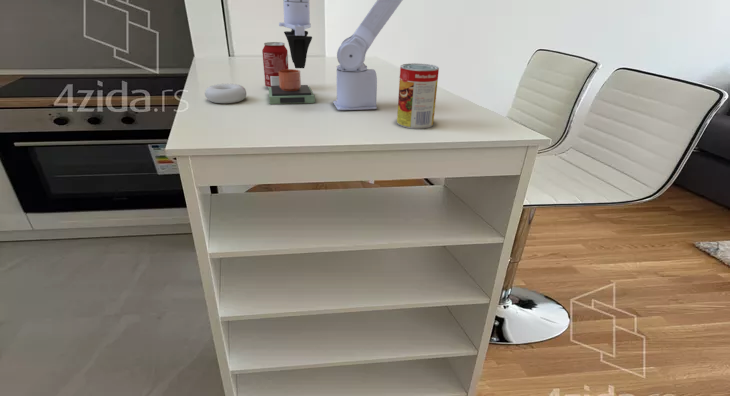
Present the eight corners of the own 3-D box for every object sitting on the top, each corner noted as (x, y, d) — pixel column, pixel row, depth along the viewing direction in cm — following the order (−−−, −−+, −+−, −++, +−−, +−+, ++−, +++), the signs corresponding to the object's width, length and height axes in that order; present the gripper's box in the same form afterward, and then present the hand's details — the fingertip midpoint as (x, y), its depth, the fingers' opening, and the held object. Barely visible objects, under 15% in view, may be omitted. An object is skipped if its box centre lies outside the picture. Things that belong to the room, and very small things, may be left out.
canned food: (419, 116, 97) (424, 62, 92) (440, 126, 91) (446, 68, 85) (390, 120, 94) (393, 64, 88) (409, 130, 87) (414, 70, 82)
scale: (310, 93, 116) (309, 84, 114) (314, 103, 106) (314, 93, 105) (269, 94, 113) (268, 85, 112) (269, 104, 103) (269, 94, 102)
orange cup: (299, 86, 111) (299, 69, 109) (301, 91, 107) (301, 72, 105) (279, 87, 110) (277, 69, 108) (280, 91, 106) (278, 73, 104)
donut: (197, 103, 103) (236, 106, 101) (195, 89, 101) (234, 91, 100) (218, 94, 112) (254, 96, 110) (216, 81, 110) (252, 83, 108)
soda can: (287, 90, 117) (284, 45, 112) (262, 90, 117) (259, 44, 112) (291, 85, 123) (289, 42, 118) (268, 85, 123) (264, 41, 118)
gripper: (276, 0, 99) (279, 60, 105) (279, 2, 87) (282, 70, 93) (307, 1, 101) (308, 60, 107) (313, 3, 88) (314, 70, 94)
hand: (298, 65), depth 100 cm, fingers open, 7 cm apart
